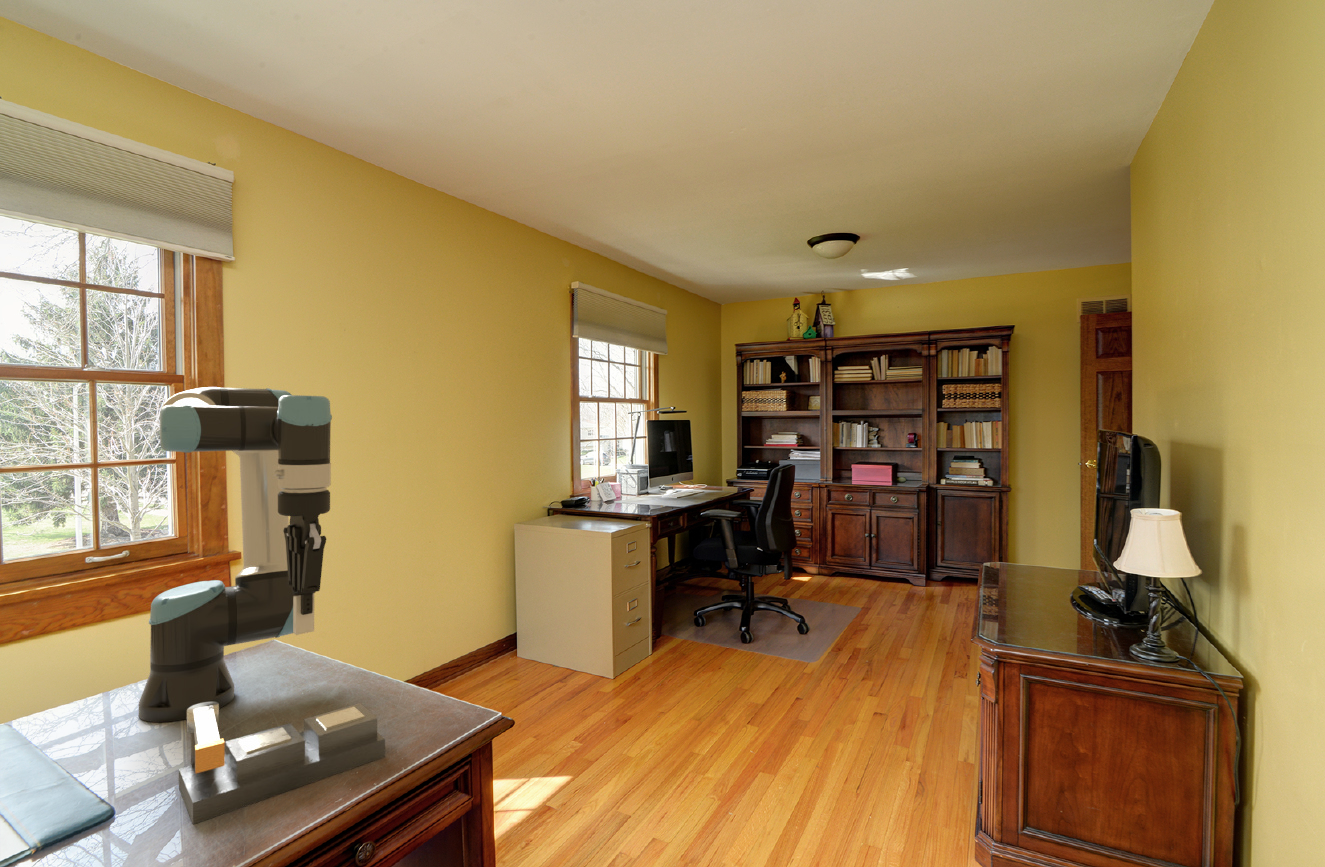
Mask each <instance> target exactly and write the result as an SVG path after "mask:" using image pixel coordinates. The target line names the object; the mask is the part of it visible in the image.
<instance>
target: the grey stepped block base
mask: <svg viewBox="0 0 1325 867" xmlns="http://www.w3.org/2000/svg"><path fill="white" fill-rule="evenodd" d="M195 745H196V744H195V737H194V733H191V732H190V765H188V766H184V767H181V768H179V769H178V791H179V792H180V796H181V798H182V800H183V803H184V805H185V808H186V810H187V813H188V815H189V817H190V820H191V823H192V825H196V824H198V823H201V822H203V821H207V820H209V819H212V818H215V817H218V816H221V815H224V814H227V813H230V812H233V811H236V810H238V809H241V808H244V807H246V806H249V805H252V804H255V803H258V802H261V801H264V800H266V799H269V798H272V797H275V796H278V795H280V794H284V793H286V792H289V791H291V790H296V789H298V788H301V787H303V786H306V785H309V784H312V783H314V782H318V781H321V780H324V779H326V778H329V777H332V776H335V775H337V774H341V773H343V772H346V771H349V770H351V769H354V768H357V767H360V766H363V765H365V764H366V765H367V764H368V763H372V762H374V761H377V760H380V759H383V758H385V757H386V738H384V736H382V735H381V734H380V733H379V732H378V717H377V716H376V715H375V714H373V713H372V711H370V710H369V709H367V708H366V707H365V706H364V705H363V704H362V703H360V702H359V703H356V704H352V705H348V706H345V707H341V708H337V709H335V710H331V711H327V712H324V713H321V714H317V715H314V716H310V717H307V718H304V719H303V731H302V732H298V730H297V729H296V728H295V727H294V725H293V724H291V722H289V723H285V724H282V725H279V726H275V727H272V728H268V729H263V730H261V731H258V732H257V731H256V732H253V733H251V734H248V735H244V736H240V737H236V738H233V739H230V740H226V741H224V766H222V767H218V768H214V769H211V770H207V771H203V772H200V773H195Z"/></svg>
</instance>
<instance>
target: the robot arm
mask: <svg viewBox="0 0 1325 867" xmlns="http://www.w3.org/2000/svg"><path fill="white" fill-rule="evenodd" d="M332 418H333V415H332V413H331V401H330V400H329V398H328V397H326V396H323V395H302V394H301V395H296V394H295V395H294V394H291V392H289V391H287V390H283V389H272V388H247V387H246V388H245V387H244V388H242V387H241V388H240V387H217V386H208V387H198V388H193V389H187V390H185V391H181V392H178V393H175V394H173V395H172V396H170V397H169V398H167V399H166V400H165V401H164V402H163V404H162V406H161V408H160V411H159V441H160V442H159V443H160V447H161V449H162V450H163V451H165V452H179V453H186V454H187V453H193V452H196V453H198V452H224V451H225V452H226V451H227V452H231V451H232V452H233V453H234V454H235V455H237V456H238V457H239V472H240V475H239V476H240V499H241V500H240V501H241V529H242V556H243V557H242V558H243V567H242V569H241V571H240V572H238V573H237V575H236V576H235V579H234V581H235V584H234V585H233V586H226V585H225V584H224V582H223V581H222V580H218V579H217V580H216V579H213V580H203V581H202V580H201V581H197V582H192V583H188V584H184V585H180V586H177V587H173V588H171V589H168V590H165V591H163V592H162V593H160V594H158V595H157V596H155V597H154V599H153V600H152V602H151V603H150V615H149V616H150V617H149V619H148V624H149V625H150V644H149V645H150V646H149V647H150V650H149V651H150V654H149V656H150V658H149V662H150V663H149V665H150V667H149V671H150V672H149V675H148V677H147V680H146V682H145V685H144V689H143V691H142V694H141V697H140V699H139V701H138V717H139V719H140V720H143V721H146V722H151V723H165V722H174V721H175V722H176V721H181V720H187V709H188V708H189V707H191V706H193V705H196V704H199V703H203V702H218V703H219V709H221V708H222V707H224V706H226V705H228V704H230V702H232V701H233V700H234V698H235V683H234V681H233V679H232V677H231V674H230V671H229V669H228V666H227V664H226V662H225V656H224V654H225V652H224V651H225V647H226V646H232V645H239V644H245V643H250V642H256V641H261V640H262V641H263V640H267V639H272V638H276V639H278V638H280V637H283V636H287V635H291V634H294V635H295V636H299V635H303V634H307V633H311V632H315V593H316V592H320V590H321V583H322V582H321V581H322V573H323V572H322V571H323V563H324V562H323V561H324V560H323V559H324V552H325V546H326V543H327V537H326V535H322V526H321V524H320V521H319V516H320V515H323V514H324V515H325V514H326V513H328V512H330V510H331V491H330V490H329V489H327V488H329V487H330V486H331V484H332V482H331V479H332V477H331V476H332V474H331V473H332V472H331V471H332V470H331V468H332V465H331V464H332V463H331V428H332V427H331V423H332ZM289 517H290V518H289Z"/></svg>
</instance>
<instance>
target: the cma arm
mask: <svg viewBox="0 0 1325 867" xmlns="http://www.w3.org/2000/svg"><path fill="white" fill-rule="evenodd" d="M219 709H220V708H219V703H218V702H203V703H199V704H196V705H193V706H191V707H189V708H188V709H187V719H186V731H187V733H190V734H191V733H194V737H195V744H196V745H195V773H200V772H203V771H207V770H211V769H214V768H218V767H222V766H224V755H225V740H224V738H220V734H219V733H220V732H219V729H218V726H219V721H220V712H219V711H220V710H219Z"/></svg>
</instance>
